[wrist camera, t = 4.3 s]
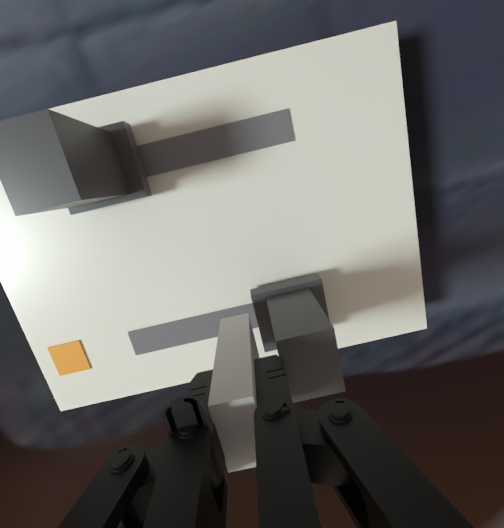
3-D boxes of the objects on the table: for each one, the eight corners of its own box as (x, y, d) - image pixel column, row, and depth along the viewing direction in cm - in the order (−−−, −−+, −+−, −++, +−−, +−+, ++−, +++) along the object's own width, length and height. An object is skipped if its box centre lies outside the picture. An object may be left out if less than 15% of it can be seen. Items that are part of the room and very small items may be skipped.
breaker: (130, 124, 16) (67, 92, 10) (152, 195, 17) (106, 203, 11) (54, 143, 16) (-50, 122, 10) (80, 212, 17) (-3, 229, 11)
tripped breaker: (317, 273, 18) (352, 316, 13) (327, 329, 19) (365, 392, 14) (250, 289, 19) (254, 339, 13) (263, 343, 19) (273, 413, 14)
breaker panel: (372, 45, 19) (397, 19, 16) (403, 309, 23) (427, 329, 20) (-20, 144, 19) (-68, 137, 16) (82, 382, 24) (59, 412, 21)
